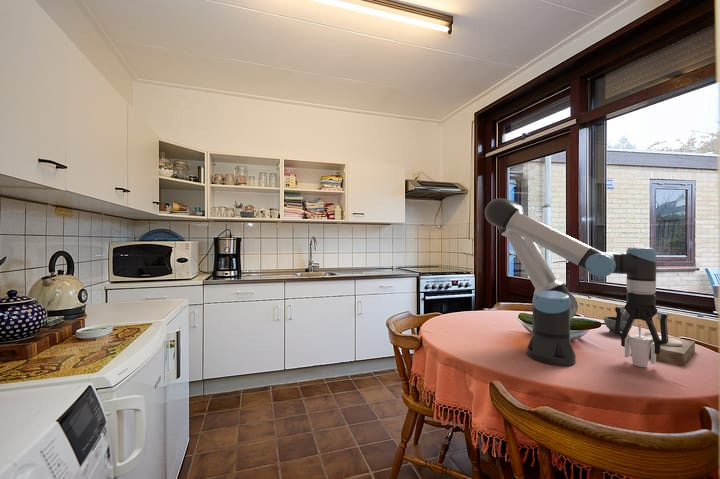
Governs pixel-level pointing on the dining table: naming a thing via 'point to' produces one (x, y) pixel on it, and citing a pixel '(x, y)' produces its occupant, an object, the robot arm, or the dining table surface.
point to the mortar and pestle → (611, 322)
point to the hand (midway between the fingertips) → (640, 359)
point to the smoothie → (640, 348)
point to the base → (674, 350)
